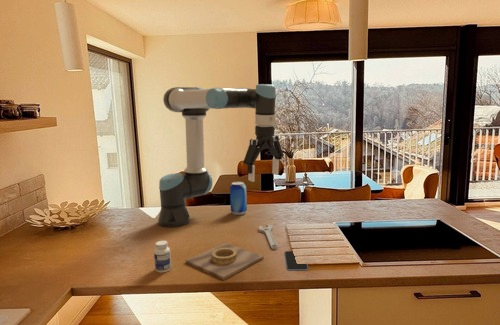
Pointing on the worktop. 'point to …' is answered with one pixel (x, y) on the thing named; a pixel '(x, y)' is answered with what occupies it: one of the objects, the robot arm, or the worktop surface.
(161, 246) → the pill bottle
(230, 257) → the socket plate
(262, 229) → the adjustable wrench
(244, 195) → the beer can
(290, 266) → the smartphone
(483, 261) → the worktop surface
